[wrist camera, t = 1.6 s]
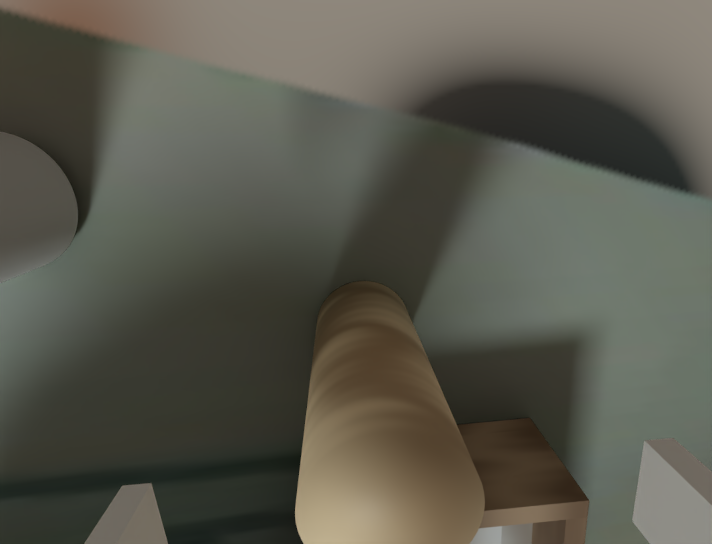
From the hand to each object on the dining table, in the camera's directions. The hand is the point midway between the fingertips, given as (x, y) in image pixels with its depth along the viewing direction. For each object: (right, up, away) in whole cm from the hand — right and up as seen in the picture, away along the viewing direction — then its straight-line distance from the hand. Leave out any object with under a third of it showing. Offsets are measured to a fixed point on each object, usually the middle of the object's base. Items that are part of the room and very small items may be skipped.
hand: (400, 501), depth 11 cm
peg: (-1, +3, +11) cm, 12 cm away
